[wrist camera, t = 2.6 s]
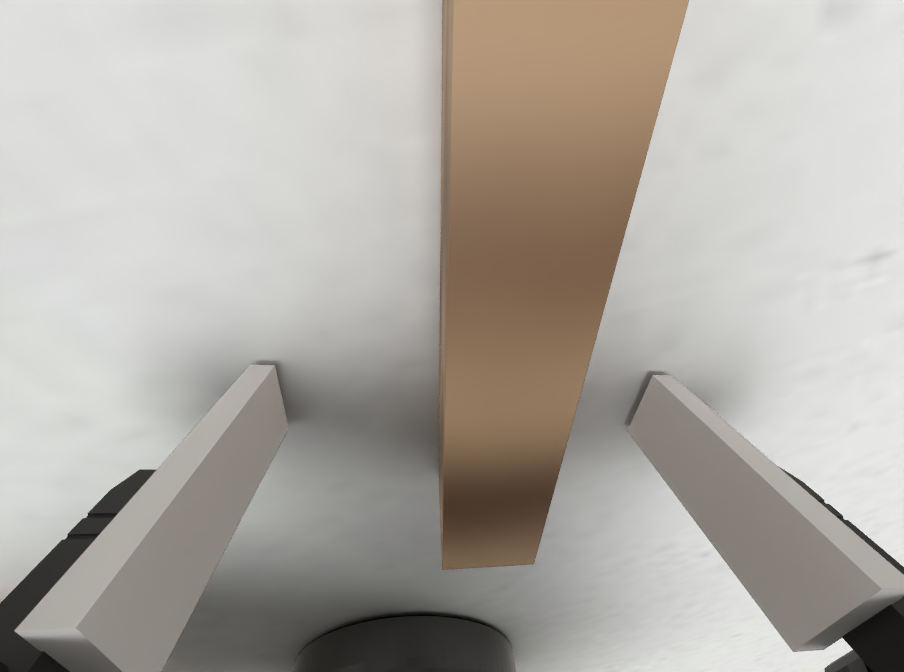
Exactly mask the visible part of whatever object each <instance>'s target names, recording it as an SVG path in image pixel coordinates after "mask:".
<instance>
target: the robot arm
mask: <svg viewBox="0 0 904 672" xmlns="http://www.w3.org/2000/svg"><path fill="white" fill-rule="evenodd" d="M288 429H289V427H288V422H287V418H286V413H285V409H284V404H283V400H282V395H281V391H280V386H279V382H278V377H277V372H276V368H275V365H249V366H248V367H247V369H246V370H245V371H244V372H243V373H242V374H241V375H240V376H239V378H238V379H237V380H236V381H235V382H234V383H233V384H232V385H231V387H230V388H229V389H228V390H227V391H226V392H225V393H224V394H223V396H222V397H221V398H220V399H219V400H218V401H217V402H216V404H215V405H214V406H213V407H212V408H211V409H210V410H209V411H208V413H207V414H206V415H205V416H204V417H203V418H202V419H201V420H200V422H199V423H198V424H197V425H196V426H195V427H194V428H193V429H192V431H191V432H190V433H189V434H188V435H187V436H186V437H185V439H184V440H183V441H182V442H181V443H180V444H179V445H178V446H177V448H176V449H175V450H174V451H173V452H172V453H171V454H170V455H169V457H168V458H167V459H166V460H165V461H164V462H163V463H162V464H161V466H160V467H159V468H158V469H157V470H139V471H137V472H136V473H134V474H133V475H131V476H130V477H129V478H127V479H126V480H124V481H123V482H121V483H120V484H118V485H117V486H115V487H114V488H113V489H111V490H110V491H109V492H108V493H107V494H106V495H105V496H104V497H103V498H102V499H101V500H100V501H99V502H98V503H97V504H96V506H95V507H94V508H93V509H92V510H91V511H90V512H89V513H88V516H87V518H83V519H82V520H81V521H80V522H79V523H78V524H77V525H76V526H75V527H74V528H73V529H72V530H71V531H70V532H69V533H68V536H67V538H66V539H65V540H61V542H60V543H59V544H58V545H57V546H56V547H55V548H54V549H53V550H52V551H51V552H50V553H49V554H48V555H47V556H46V557H45V558H44V559H43V560H42V561H41V562H40V563H39V564H38V565H37V566H36V567H35V568H34V569H33V570H32V571H31V572H30V573H29V574H28V575H27V576H26V577H25V579H24V580H23V581H22V582H21V583H20V584H19V585H18V586H17V587H16V588H15V589H14V590H13V591H12V592H11V593H10V594H9V595H8V596H7V597H6V598H5V599H4V600H3V601H2V602H1V603H0V672H161V671H162V669H163V668H164V666H165V664H166V662H167V660H168V658H169V656H170V654H171V652H172V650H173V648H174V647H175V645H176V643H177V641H178V639H179V637H180V635H181V633H182V631H183V629H184V628H185V626H186V624H187V622H188V620H189V618H190V616H191V614H192V612H193V610H194V608H195V607H196V605H197V603H198V601H199V599H200V597H201V595H202V593H203V591H204V589H205V587H206V586H207V584H208V582H209V580H210V578H211V576H212V574H213V572H214V570H215V568H216V566H217V565H218V563H219V561H220V559H221V557H222V555H223V553H224V551H225V549H226V547H227V545H228V544H229V542H230V540H231V538H232V536H233V534H234V532H235V530H236V528H237V526H238V524H239V523H240V521H241V519H242V517H243V515H244V513H245V511H246V509H247V507H248V505H249V504H250V502H251V500H252V498H253V496H254V494H255V492H256V490H257V488H258V486H259V484H260V483H261V481H262V479H263V477H264V475H265V473H266V471H267V469H268V467H269V465H270V463H271V462H272V460H273V458H274V456H275V454H276V452H277V450H278V448H279V446H280V444H281V442H282V441H283V439H284V437H285V435H286V433H287V431H288ZM627 431H628V433H629V434H630V435H631V437H632V438H633V439H634V441H635V442H636V443H637V445H638V446H639V447H640V449H641V450H642V451H643V453H644V454H645V455H646V457H647V458H648V459H649V461H650V462H651V463H652V465H653V466H654V467H655V469H656V470H657V471H658V473H659V474H660V475H661V477H662V478H663V479H664V481H665V482H666V483H667V485H668V486H669V487H670V489H671V490H672V491H673V493H674V494H675V495H676V497H677V498H678V499H679V501H680V502H681V503H682V505H683V506H684V507H685V509H686V510H687V511H688V513H689V514H690V515H691V517H692V518H693V519H694V521H695V522H696V523H697V525H698V526H699V527H700V529H701V530H702V531H703V533H704V534H705V535H706V537H707V538H708V539H709V541H710V542H711V543H712V545H713V546H714V547H715V549H716V550H717V551H718V553H719V554H720V555H721V557H722V558H723V559H724V561H725V562H726V563H727V565H728V566H729V567H730V569H731V570H732V571H733V572H734V574H735V575H736V576H737V578H738V579H739V580H740V582H741V583H742V584H743V586H744V587H745V588H746V590H747V591H748V592H749V594H750V595H751V596H752V598H753V599H754V600H755V602H756V603H757V604H758V606H759V607H760V608H761V610H762V611H763V612H764V614H765V615H766V616H767V618H768V619H769V620H770V622H771V623H772V624H773V626H774V627H775V628H776V630H777V631H778V632H779V634H780V635H781V636H782V638H783V639H784V640H785V642H786V643H787V644H788V646H789V647H790V648H791V650H792V651H793V652H798V651H813V650H824V649H825V648H827V647H828V646H830V645H832V644H833V643H835V642H836V641H838V640H839V639H841V638H842V637H843V639H844V640H845V641H846V642H847V643H848V644H849V645H850V646H851V648H852V649H853V650H852V651H850V652H849V653H847V654H845V655H844V656H842V657H841V658H839V659H837V660H836V661H834V662H832V663H831V664H830V665H828V666H827V667H826V668H825V672H904V567H903V566H902V565H900V564H899V563H898V562H897V561H896V560H895V559H893V558H892V557H891V556H890V555H889V554H887V553H886V552H885V551H884V550H883V549H882V548H880V547H879V546H878V545H877V544H876V543H874V542H873V541H872V540H871V539H870V538H869V537H867V536H866V535H865V534H864V533H863V532H861V531H860V530H859V529H858V528H857V527H856V526H854V525H853V524H852V523H851V522H850V521H848V520H844V519H843V516H842V515H841V514H840V513H839V512H838V511H837V510H835V509H834V508H833V507H832V506H831V505H829V504H826V503H825V502H824V499H822V498H821V497H820V496H819V495H818V494H816V493H815V492H814V491H813V490H812V489H811V488H809V487H808V486H807V485H806V484H805V483H803V482H802V481H801V480H799V479H797V478H796V477H794V476H793V475H791V474H789V473H788V472H786V471H785V470H783V469H782V468H780V467H778V466H777V465H776V464H774V463H773V462H772V461H771V460H770V459H769V458H767V457H766V456H765V455H764V454H763V453H762V452H760V451H759V450H758V449H757V448H756V447H755V446H753V445H752V444H751V443H750V442H749V441H748V440H746V439H745V438H744V437H743V436H742V435H741V434H740V433H738V432H737V431H736V430H735V429H734V428H733V427H731V426H730V425H729V424H728V423H727V422H726V421H724V420H723V419H722V418H721V417H720V416H719V415H717V414H716V413H715V412H714V411H713V410H712V409H710V408H709V407H708V406H707V405H706V404H705V403H704V402H702V401H701V400H700V399H699V398H698V397H697V396H695V395H694V394H693V393H692V392H691V391H690V390H688V389H687V388H686V387H685V386H684V385H683V384H681V383H680V382H679V381H678V380H677V379H676V378H674V377H673V376H671V375H653V376H652V378H651V380H650V382H649V384H648V387H647V389H646V391H645V393H644V395H643V397H642V400H641V402H640V404H639V406H638V408H637V411H636V413H635V415H634V417H633V419H632V422H631V424H630V426H629V428H628V430H627ZM293 672H516V668H515V663H514V657H513V651H512V647H511V644H510V643H509V641H508V640H507V639H506V638H505V637H504V636H503V635H502V634H500V633H499V632H497V631H496V630H494V629H492V628H489V627H487V626H484V625H482V624H479V623H475V622H471V621H467V620H462V619H456V618H448V617H436V616H408V617H395V618H386V619H379V620H373V621H368V622H363V623H359V624H355V625H351V626H348V627H344V628H341V629H339V630H336V631H333V632H331V633H328V634H326V635H324V636H322V637H320V638H318V639H317V640H315V641H313V642H312V643H310V644H309V645H308V646H306V647H305V648H304V649H303V650H302V651H301V652H300V654H299V655H298V656H297V658H296V661H295V664H294V668H293Z"/></svg>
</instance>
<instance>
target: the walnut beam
mask: <svg viewBox="0 0 904 672" xmlns="http://www.w3.org/2000/svg"><path fill="white" fill-rule="evenodd" d="M688 2H689V0H443V10H442V131H441V252H440V373H439V495H440V523H441V551H442V570H448V569H464V568H480V567H497V566H513V565H529V564H534V562H535V558H536V554H537V551H538V547H539V543H540V540H541V536H542V533H543V529H544V525H545V522H546V518H547V514H548V511H549V507H550V504H551V500H552V496H553V493H554V489H555V485H556V482H557V478H558V474H559V471H560V467H561V464H562V460H563V456H564V453H565V449H566V445H567V442H568V438H569V435H570V431H571V427H572V424H573V420H574V416H575V413H576V409H577V405H578V402H579V398H580V395H581V391H582V387H583V384H584V380H585V376H586V373H587V369H588V366H589V362H590V358H591V355H592V351H593V347H594V344H595V340H596V336H597V333H598V329H599V326H600V322H601V318H602V315H603V311H604V307H605V304H606V300H607V297H608V293H609V289H610V286H611V282H612V278H613V275H614V271H615V267H616V264H617V260H618V257H619V253H620V249H621V246H622V242H623V238H624V235H625V231H626V228H627V224H628V220H629V217H630V213H631V209H632V206H633V202H634V198H635V195H636V191H637V188H638V184H639V180H640V177H641V173H642V169H643V166H644V162H645V159H646V155H647V151H648V148H649V144H650V140H651V137H652V133H653V129H654V126H655V122H656V119H657V115H658V111H659V108H660V104H661V100H662V97H663V93H664V90H665V86H666V82H667V79H668V75H669V71H670V68H671V64H672V60H673V57H674V53H675V50H676V46H677V42H678V39H679V35H680V31H681V28H682V24H683V21H684V17H685V13H686V10H687V6H688Z"/></svg>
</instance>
